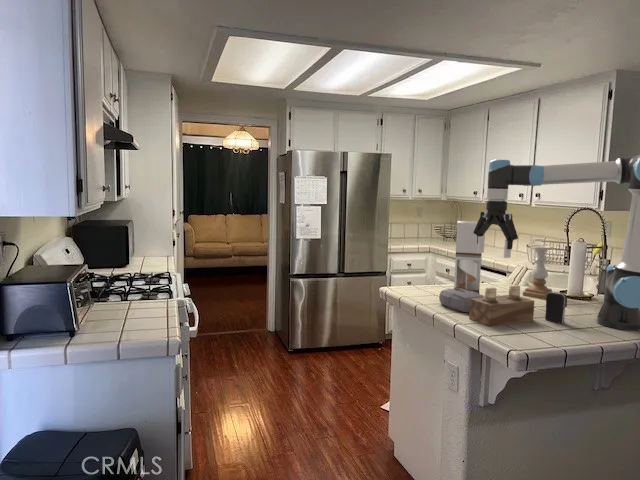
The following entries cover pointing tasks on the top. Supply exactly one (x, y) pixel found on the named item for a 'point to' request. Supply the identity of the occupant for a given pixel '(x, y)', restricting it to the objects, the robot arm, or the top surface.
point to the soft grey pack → (458, 298)
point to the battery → (555, 306)
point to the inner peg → (514, 292)
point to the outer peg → (490, 294)
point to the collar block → (501, 310)
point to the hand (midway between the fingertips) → (493, 255)
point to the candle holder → (539, 274)
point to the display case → (467, 257)
